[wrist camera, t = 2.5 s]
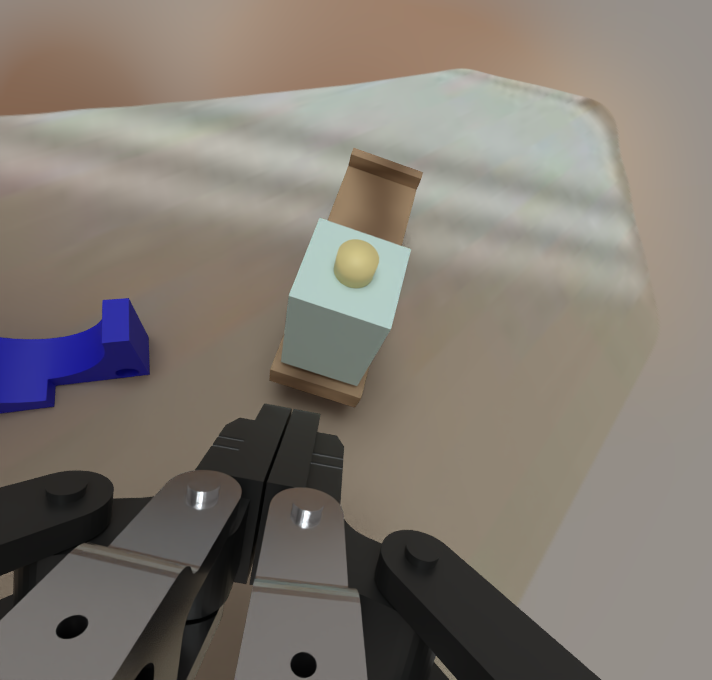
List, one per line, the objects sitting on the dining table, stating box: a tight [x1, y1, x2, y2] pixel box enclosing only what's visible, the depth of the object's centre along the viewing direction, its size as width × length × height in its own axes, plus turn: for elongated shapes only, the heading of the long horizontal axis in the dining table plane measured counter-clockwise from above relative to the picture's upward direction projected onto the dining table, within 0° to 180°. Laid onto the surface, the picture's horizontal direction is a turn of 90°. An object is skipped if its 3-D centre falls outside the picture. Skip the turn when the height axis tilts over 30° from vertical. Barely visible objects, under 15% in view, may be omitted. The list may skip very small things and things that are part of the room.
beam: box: [270, 148, 423, 407], centre depth 35 cm, size 6×20×7 cm, turn 165°
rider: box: [281, 218, 411, 386], centre depth 25 cm, size 5×5×9 cm
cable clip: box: [0, 298, 150, 413], centre depth 28 cm, size 12×4×6 cm, turn 102°
